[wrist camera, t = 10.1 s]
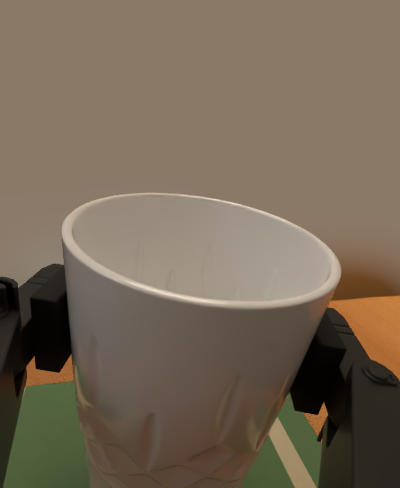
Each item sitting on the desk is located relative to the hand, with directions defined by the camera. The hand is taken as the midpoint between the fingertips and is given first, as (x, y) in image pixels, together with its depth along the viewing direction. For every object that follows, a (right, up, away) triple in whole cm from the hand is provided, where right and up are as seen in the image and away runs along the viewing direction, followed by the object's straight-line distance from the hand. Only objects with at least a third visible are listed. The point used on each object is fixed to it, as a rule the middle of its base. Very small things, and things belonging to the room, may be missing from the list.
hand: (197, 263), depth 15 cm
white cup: (-1, -8, -2) cm, 8 cm away
